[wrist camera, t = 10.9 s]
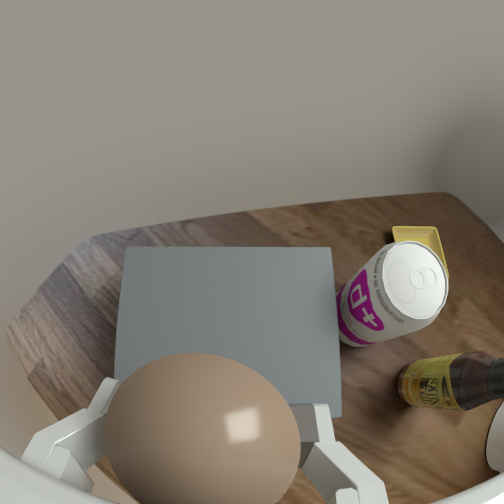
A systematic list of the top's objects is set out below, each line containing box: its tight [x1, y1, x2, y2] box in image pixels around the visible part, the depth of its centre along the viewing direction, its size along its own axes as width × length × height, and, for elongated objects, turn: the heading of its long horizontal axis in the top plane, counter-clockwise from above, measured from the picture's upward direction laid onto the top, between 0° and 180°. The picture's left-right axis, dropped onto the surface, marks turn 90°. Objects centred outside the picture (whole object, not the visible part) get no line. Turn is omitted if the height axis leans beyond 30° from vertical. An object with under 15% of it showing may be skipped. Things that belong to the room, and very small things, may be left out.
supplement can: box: [336, 241, 448, 347], centre depth 29 cm, size 8×8×15 cm
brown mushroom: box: [104, 353, 301, 504], centre depth 9 cm, size 5×5×8 cm
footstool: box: [114, 247, 342, 418], centre depth 30 cm, size 20×16×10 cm
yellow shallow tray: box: [392, 226, 449, 278], centre depth 39 cm, size 9×9×2 cm
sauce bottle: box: [398, 351, 504, 411], centre depth 23 cm, size 6×6×20 cm
